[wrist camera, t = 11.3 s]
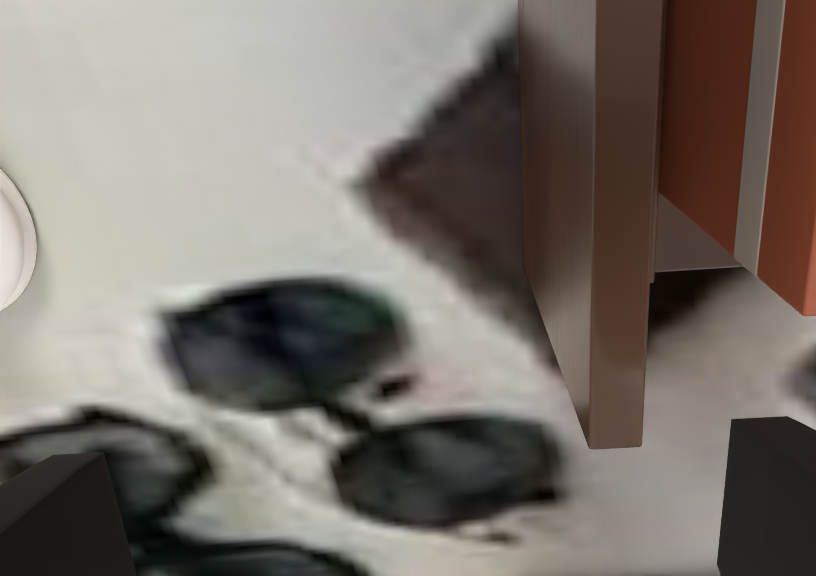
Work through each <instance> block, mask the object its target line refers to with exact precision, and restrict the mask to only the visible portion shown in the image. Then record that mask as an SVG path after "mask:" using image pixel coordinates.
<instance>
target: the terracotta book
mask: <svg viewBox="0 0 816 576" xmlns="http://www.w3.org/2000/svg"><path fill="white" fill-rule="evenodd" d="M659 193H660V194H662V195H663V196H664V197H665V198H666V199H667V200H669V201H670V202H671V203H672V204H673V205H674V206H675V207H677V208H678V209H679V210H680V211H681V212H682V213H684V214H685V215H686V216H687V217H688V218H689V219H691V220H692V221H693V222H694V223H695V224H696V225H698V226H699V227H700V228H701V229H702V230H703V231H705V232H706V233H707V234H708V235H709V236H710V237H712V238H713V239H714V240H715V241H716V242H717V243H719V244H720V245H721V246H722V247H723V248H724V249H726V250H727V251H728V252H729V253H730V254H731V255H733V256H734V258H735V259H736V260H737V261H738V262H739V263H740V264H742V265H743V266H744V267H745V268H746V269H747V270H748V271H750V272H751V273H752V274H753V275H754V276H755V277H758V278H759V279H761V280H762V281H763V282H764V283H765V284H766V285H768V286H769V287H770V288H771V289H772V290H773V291H775V292H776V293H777V294H778V295H779V296H780V297H782V298H783V299H784V300H785V301H786V302H787V303H789V304H790V305H791V306H792V307H793V308H794V309H796V310H797V311H798V312H799V313H800V314H801V315H803V316H816V0H669V1H668V20H667V40H666V60H665V80H664V100H663V119H662V139H661V159H660V179H659Z"/></svg>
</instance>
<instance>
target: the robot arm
mask: <svg viewBox="0 0 816 576" xmlns="http://www.w3.org/2000/svg"><path fill="white" fill-rule="evenodd" d="M717 565H718V568H719V571H720V574H721V576H816V430H814V429H812V428H810V427H808V426H806V425H804V424H802V423H800V422H798V421H796V420H794V419H792V418H790V417H788V416H784V417H765V418H746V419H731V429H730V439H729V449H728V459H727V469H726V479H725V489H724V499H723V509H722V519H721V529H720V539H719V549H718V559H717ZM0 576H137V574H136V570H135V567H134V563H133V559H132V556H131V552H130V548H129V544H128V541H127V537H126V533H125V530H124V526H123V522H122V518H121V515H120V511H119V507H118V504H117V500H116V496H115V493H114V489H113V485H112V481H111V478H110V474H109V470H108V467H107V463H106V459H105V455H104V452H102V453H83V454H64V455H52V456H50V457H49V458H47V459H45V460H43V461H41V462H39V463H37V464H35V465H34V466H32V467H30V468H29V469H27V470H25V471H23V472H22V473H20V474H18V475H17V476H15V477H14V478H12V479H10V480H9V481H7V482H6V483H4V484H2V485H1V486H0Z"/></svg>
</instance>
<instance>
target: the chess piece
mask: <svg viewBox="0 0 816 576" xmlns="http://www.w3.org/2000/svg"><path fill="white" fill-rule="evenodd" d="M36 253H37V243H36V234H35V228H34V224H33V221H32V218H31V215H30V212H29V210H28V207H27V205H26V203H25V201H24V199H23V198H22V196H21V194H20V193H19V191H18V189H17V188H16V187H15V185H14V184H13V183H12V181H11V180H10V179H9V178H8V176H7V175H6V174H5V173H4V172H3V171H2V170H1V169H0V311H1V310H3V309H4V308H6V307H7V306H9V305H10V304H11V303H12V302H14V301H15V300H16V299H17V298H18V297H19V296H20V294H21V293H22V292H23V291H24V289H25V288H26V286H27V284H28V282H29V280H30V278H31V276H32V273H33V270H34V266H35V262H36Z"/></svg>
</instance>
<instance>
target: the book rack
mask: <svg viewBox="0 0 816 576" xmlns="http://www.w3.org/2000/svg"><path fill="white" fill-rule="evenodd" d="M668 1H669V0H518V12H519V63H520V114H521V165H522V216H523V265H524V268H525V271H526V274H527V276H528V279H529V283H530V285H531V288H532V291H533V294H534V297H535V299H536V302H537V305H538V308H539V311H540V313H541V316H542V319H543V322H544V324H545V327H546V330H547V333H548V336H549V338H550V341H551V344H552V347H553V350H554V352H555V355H556V358H557V361H558V363H559V366H560V369H561V372H562V375H563V377H564V380H565V383H566V386H567V389H568V391H569V394H570V397H571V400H572V403H573V405H574V408H575V411H576V414H577V416H578V419H579V422H580V425H581V428H582V430H583V433H584V436H585V439H586V442H587V444H588V447H589V448H590V449H610V448H629V447H640V446H641V445H642V433H643V413H644V392H645V371H646V350H647V329H648V309H649V288H650V283H653V282H654V278H655V272H668V271H684V270H699V269H715V268H731V267H744V266H743V265H742V264H740V263H739V262H738V261H737V260H736V259H735V258H734V256H733V255H731V254H730V253H729V252H728V251H727V250H726V249H724V248H723V247H722V246H721V245H720V244H719V243H717V242H716V241H715V240H714V239H713V238H712V237H710V236H709V235H708V234H707V233H706V232H705V231H703V230H702V229H701V228H700V227H699V226H698V225H696V224H695V223H694V222H693V221H692V220H691V219H689V218H688V217H687V216H686V215H685V214H684V213H682V212H681V211H680V210H679V209H678V208H677V207H675V206H674V205H673V204H672V203H671V202H670V201H669V200H667V199H666V198H665V197H664V196H663V195H662V194H660V193H659V179H660V159H661V139H662V119H663V100H664V80H665V60H666V40H667V20H668Z"/></svg>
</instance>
